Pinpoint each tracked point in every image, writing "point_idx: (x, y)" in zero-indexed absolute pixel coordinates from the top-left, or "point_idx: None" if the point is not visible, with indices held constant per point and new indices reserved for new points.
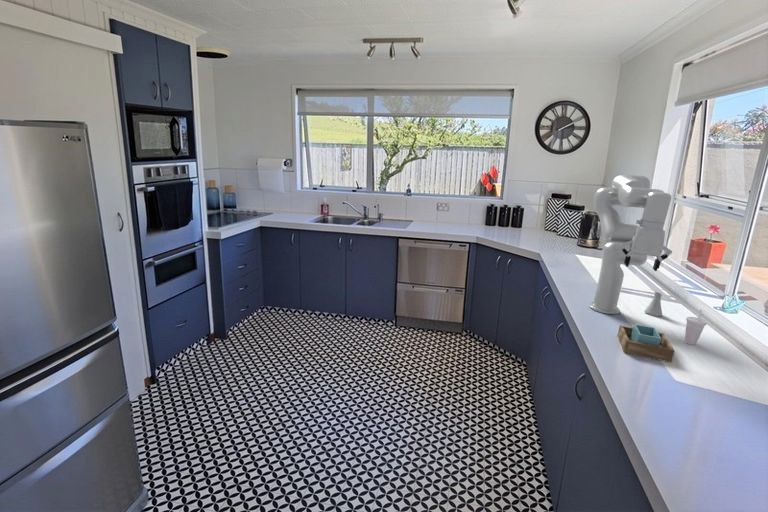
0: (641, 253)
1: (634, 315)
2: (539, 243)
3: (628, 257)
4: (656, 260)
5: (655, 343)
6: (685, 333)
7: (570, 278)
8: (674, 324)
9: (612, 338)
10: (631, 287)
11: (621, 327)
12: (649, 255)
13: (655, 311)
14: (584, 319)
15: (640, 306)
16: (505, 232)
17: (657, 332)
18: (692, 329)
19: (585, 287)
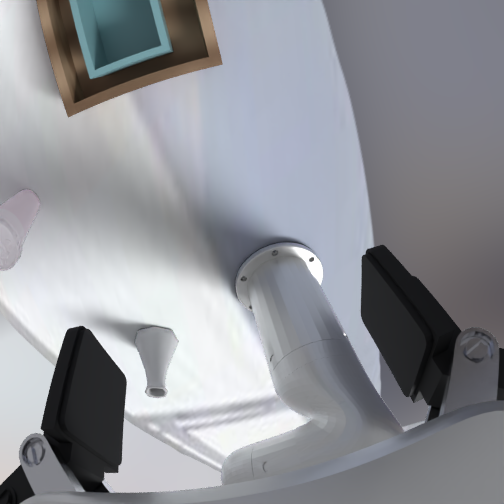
0: (351, 478)
1: (193, 296)
2: None
3: (446, 330)
4: (89, 448)
5: None
6: (30, 210)
7: None
8: (95, 308)
9: (231, 26)
10: (231, 428)
11: (214, 43)
12: (159, 495)
13: (149, 339)
14: (332, 140)
15: (193, 362)
16: None
17: (78, 32)
18: (4, 207)
19: None
